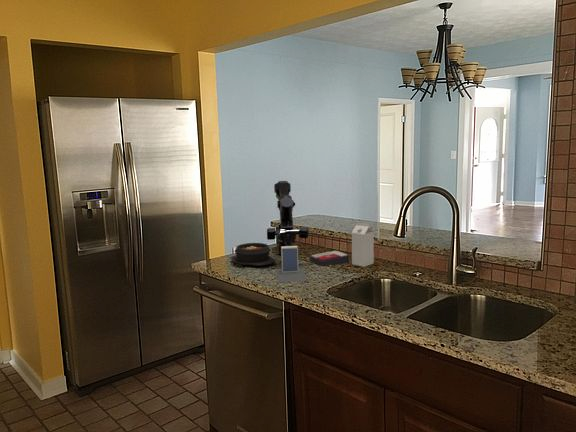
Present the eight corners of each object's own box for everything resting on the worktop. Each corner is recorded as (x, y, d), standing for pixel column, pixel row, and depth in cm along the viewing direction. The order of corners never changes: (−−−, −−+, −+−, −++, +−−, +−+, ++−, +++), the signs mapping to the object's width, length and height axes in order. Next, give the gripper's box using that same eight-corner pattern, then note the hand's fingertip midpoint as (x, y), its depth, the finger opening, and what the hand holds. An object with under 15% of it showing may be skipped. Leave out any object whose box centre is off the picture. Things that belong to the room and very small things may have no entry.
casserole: (285, 263, 224) (284, 246, 223) (254, 271, 212) (253, 253, 210) (251, 255, 242) (251, 239, 241) (221, 262, 230) (220, 245, 228)
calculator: (309, 254, 226) (336, 249, 233) (309, 263, 227) (336, 257, 234) (321, 259, 217) (349, 253, 223) (322, 268, 217) (349, 262, 224)
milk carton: (361, 261, 225) (361, 221, 222) (373, 264, 219) (373, 223, 217) (351, 264, 220) (351, 223, 217) (364, 267, 215) (364, 225, 212)
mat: (275, 269, 214) (275, 269, 214) (302, 268, 214) (302, 267, 214) (277, 282, 194) (277, 281, 194) (307, 281, 195) (307, 280, 195)
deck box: (281, 271, 210) (281, 246, 208) (297, 270, 211) (297, 245, 209) (282, 272, 208) (281, 247, 206) (298, 271, 208) (297, 247, 206)
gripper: (305, 229, 229) (308, 257, 219) (266, 231, 228) (267, 259, 218) (307, 215, 220) (310, 244, 210) (266, 217, 219) (267, 245, 209)
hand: (288, 248), depth 212 cm, fingers closed
